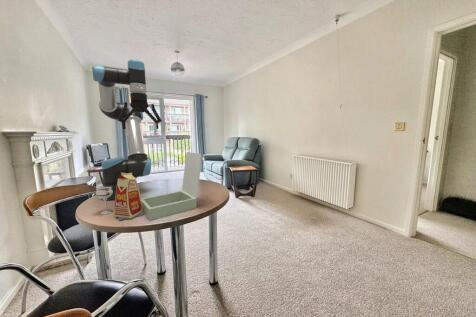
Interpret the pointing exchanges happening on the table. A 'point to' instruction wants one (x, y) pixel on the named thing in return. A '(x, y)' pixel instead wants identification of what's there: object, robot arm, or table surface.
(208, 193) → the table surface
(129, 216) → the milk carton
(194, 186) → the lid
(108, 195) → the wineglass
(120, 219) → the mat
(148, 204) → the green shallow open box
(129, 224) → the table surface
